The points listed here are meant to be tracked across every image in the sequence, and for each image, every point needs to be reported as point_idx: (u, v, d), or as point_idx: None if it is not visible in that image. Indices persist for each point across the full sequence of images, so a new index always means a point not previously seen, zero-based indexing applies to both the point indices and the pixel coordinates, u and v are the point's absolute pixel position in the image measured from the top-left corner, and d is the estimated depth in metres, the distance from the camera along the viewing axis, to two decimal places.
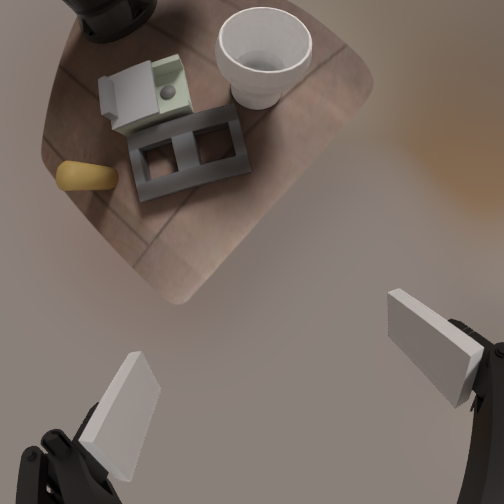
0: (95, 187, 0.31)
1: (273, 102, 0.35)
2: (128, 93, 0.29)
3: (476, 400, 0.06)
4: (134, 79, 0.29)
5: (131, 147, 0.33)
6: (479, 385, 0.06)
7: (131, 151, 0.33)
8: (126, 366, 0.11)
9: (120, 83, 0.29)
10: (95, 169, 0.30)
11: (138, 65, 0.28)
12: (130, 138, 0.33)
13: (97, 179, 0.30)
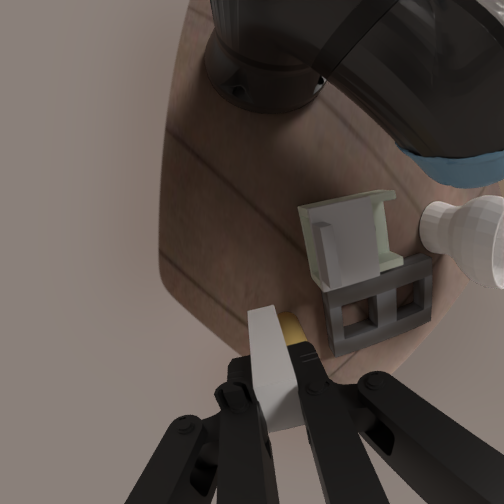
0: None
1: None
2: (345, 244, 0.27)
3: (308, 435, 0.08)
4: (352, 223, 0.27)
5: (333, 304, 0.31)
6: (302, 414, 0.08)
7: (332, 308, 0.31)
8: (254, 320, 0.13)
9: (333, 225, 0.27)
10: None
11: (356, 201, 0.26)
12: (332, 293, 0.31)
13: None
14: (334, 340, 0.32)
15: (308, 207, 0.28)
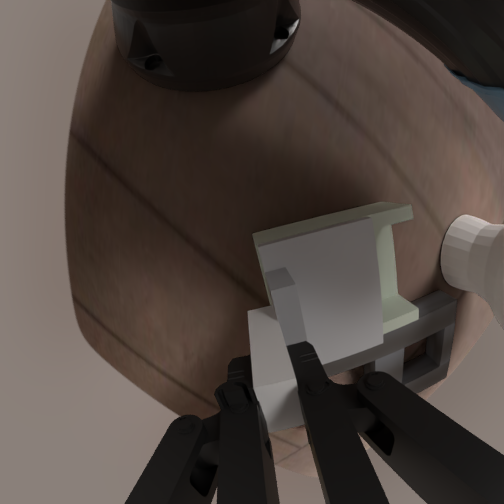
0: None
1: None
2: (327, 302, 0.16)
3: None
4: (340, 267, 0.15)
5: None
6: (302, 414, 0.08)
7: None
8: (254, 320, 0.13)
9: (304, 273, 0.15)
10: None
11: (346, 228, 0.15)
12: None
13: None
14: None
15: (261, 240, 0.17)
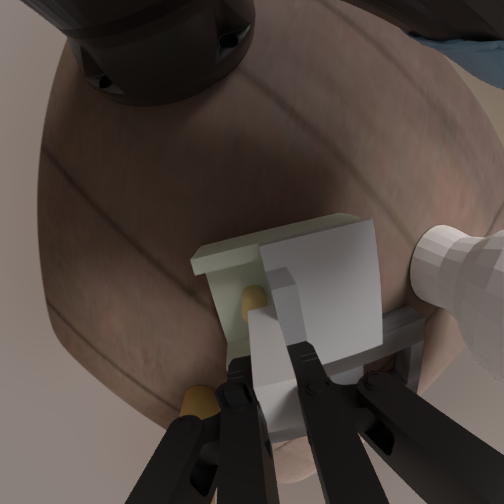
0: None
1: None
2: (327, 302, 0.16)
3: None
4: (341, 268, 0.15)
5: None
6: (302, 414, 0.08)
7: None
8: (254, 320, 0.13)
9: (305, 273, 0.15)
10: None
11: (348, 229, 0.15)
12: None
13: None
14: None
15: (198, 255, 0.17)
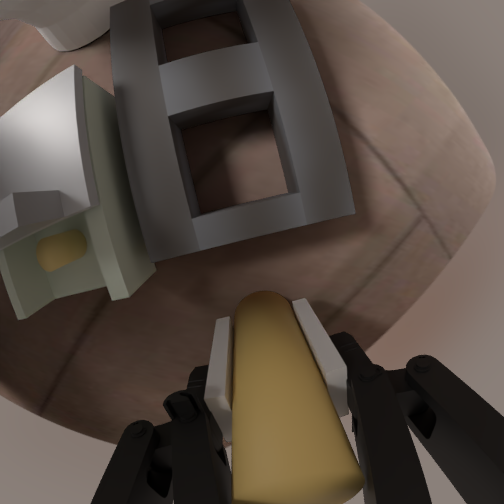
0: (313, 358, 0.10)
1: None
2: (12, 173, 0.09)
3: (353, 423, 0.08)
4: None
5: (186, 242, 0.12)
6: (349, 402, 0.08)
7: (198, 242, 0.12)
8: (220, 329, 0.13)
9: None
10: (258, 365, 0.09)
11: None
12: (157, 248, 0.12)
13: (295, 356, 0.09)
14: (299, 223, 0.12)
15: None
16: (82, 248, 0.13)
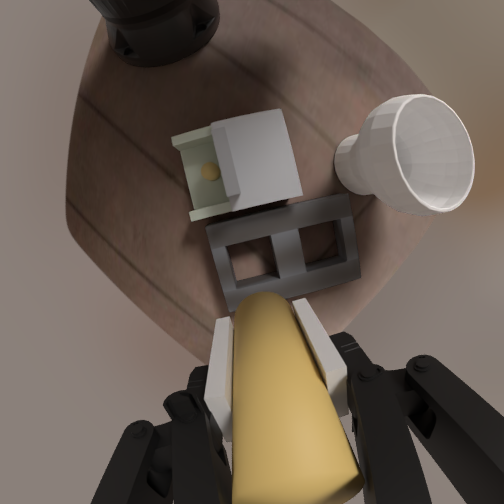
0: (313, 359, 0.10)
1: None
2: (254, 157, 0.25)
3: (353, 423, 0.08)
4: (261, 135, 0.24)
5: (214, 243, 0.29)
6: (349, 402, 0.08)
7: (214, 248, 0.29)
8: (220, 329, 0.13)
9: (238, 137, 0.24)
10: (258, 366, 0.09)
11: (264, 113, 0.24)
12: (212, 230, 0.28)
13: (295, 357, 0.09)
14: (223, 289, 0.30)
15: None
16: (210, 180, 0.29)
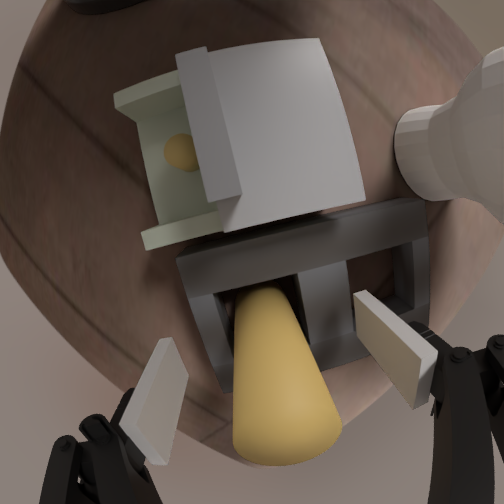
0: (301, 331, 0.13)
1: None
2: (270, 119, 0.11)
3: (435, 405, 0.07)
4: (283, 79, 0.11)
5: (193, 288, 0.15)
6: (436, 388, 0.07)
7: (194, 297, 0.15)
8: (158, 351, 0.12)
9: (236, 82, 0.11)
10: (255, 332, 0.11)
11: (288, 43, 0.10)
12: (187, 265, 0.15)
13: (285, 325, 0.12)
14: (212, 362, 0.16)
15: None
16: (186, 171, 0.15)
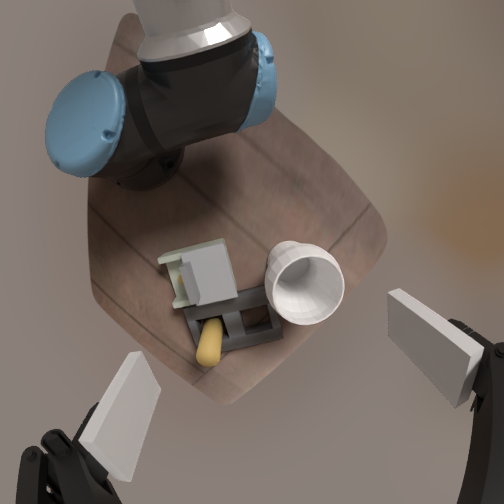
0: (220, 333, 0.44)
1: (302, 279, 0.48)
2: (207, 275, 0.42)
3: (476, 400, 0.06)
4: (211, 261, 0.42)
5: (189, 318, 0.46)
6: (479, 385, 0.06)
7: (189, 321, 0.46)
8: (126, 366, 0.11)
9: (197, 263, 0.42)
10: (205, 333, 0.42)
11: (212, 247, 0.41)
12: (187, 311, 0.46)
13: (213, 331, 0.43)
14: (196, 343, 0.47)
15: (160, 257, 0.43)
16: None
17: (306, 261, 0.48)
